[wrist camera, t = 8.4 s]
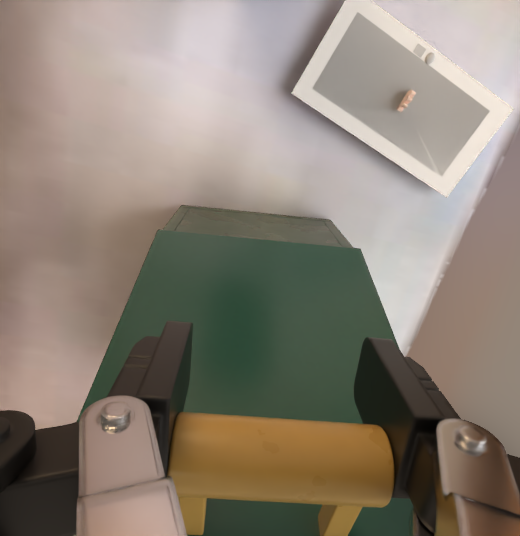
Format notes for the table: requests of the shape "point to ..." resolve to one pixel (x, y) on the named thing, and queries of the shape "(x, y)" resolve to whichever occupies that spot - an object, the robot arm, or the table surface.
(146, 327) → the lid
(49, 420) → the table surface
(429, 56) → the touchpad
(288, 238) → the tea chest
